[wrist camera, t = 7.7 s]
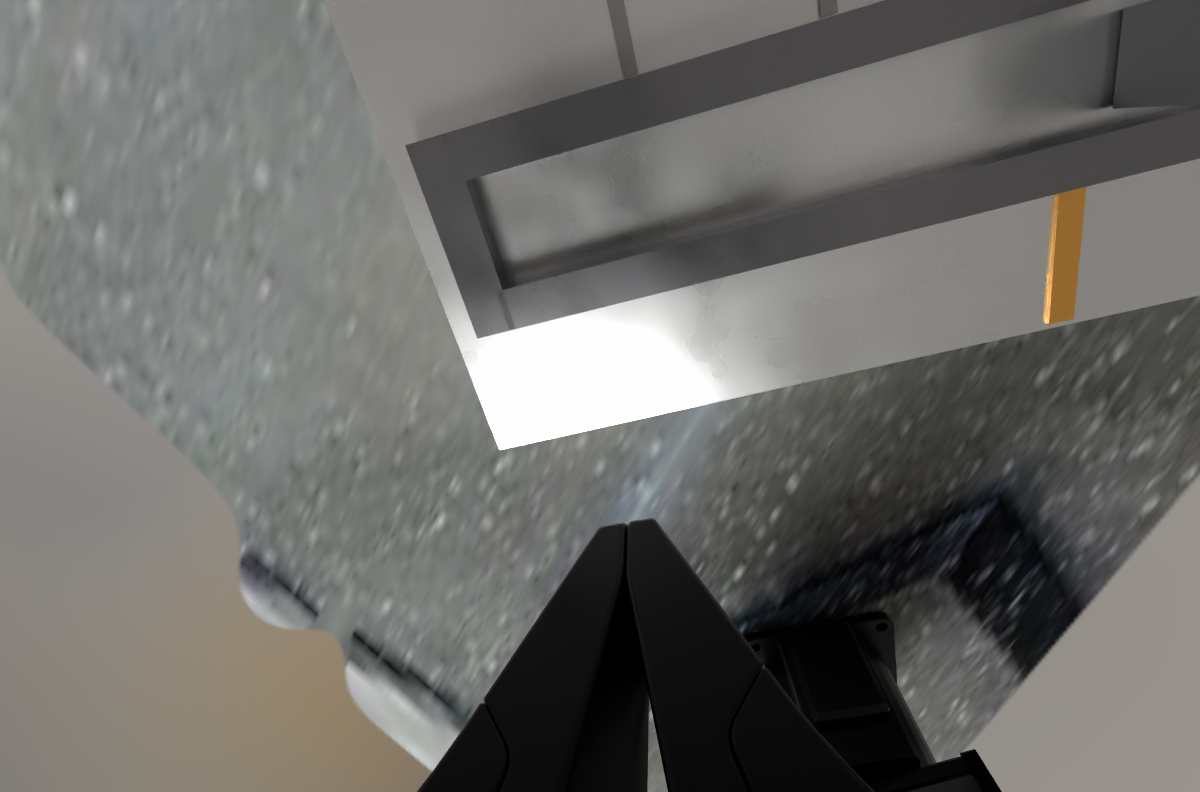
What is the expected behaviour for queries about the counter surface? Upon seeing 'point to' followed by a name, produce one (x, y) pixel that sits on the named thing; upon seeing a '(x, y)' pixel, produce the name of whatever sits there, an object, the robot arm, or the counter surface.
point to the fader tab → (1159, 55)
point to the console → (763, 187)
